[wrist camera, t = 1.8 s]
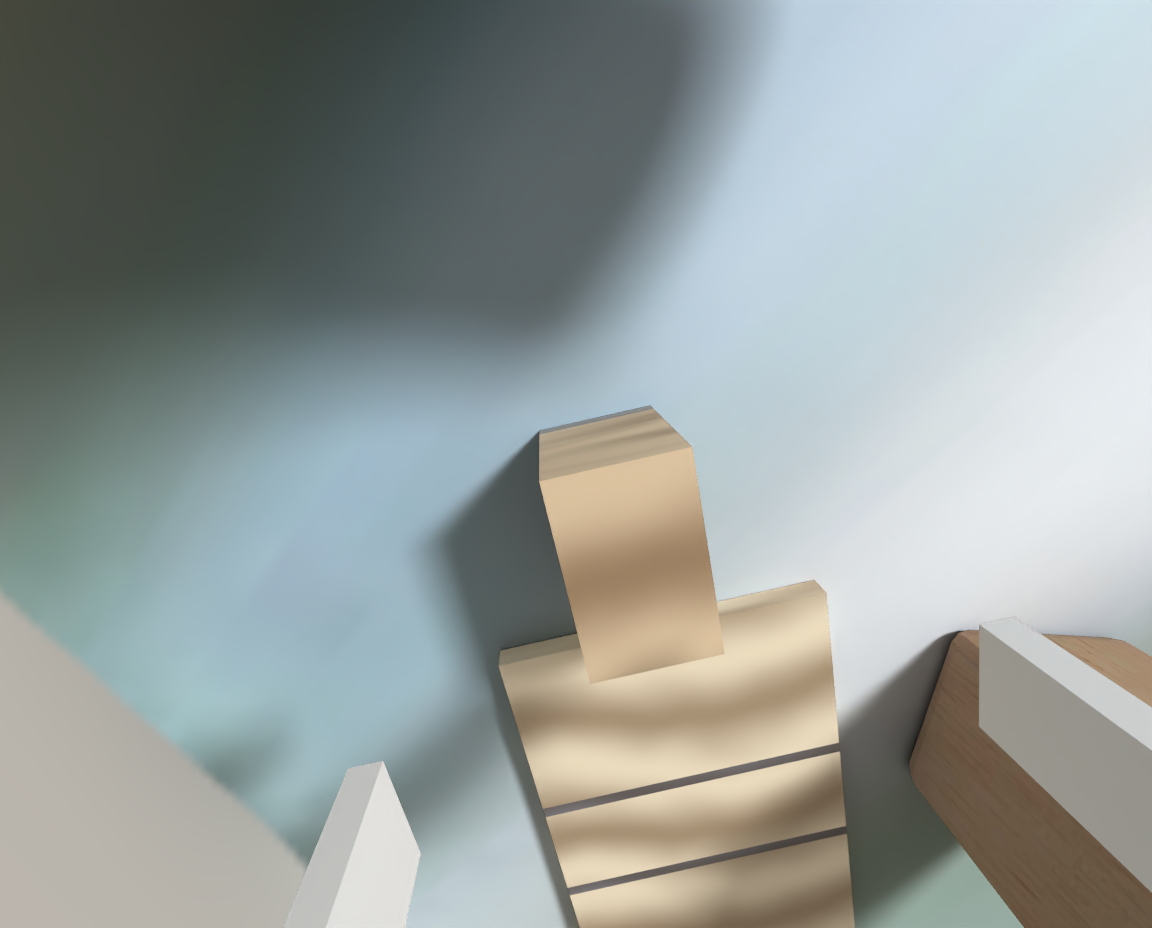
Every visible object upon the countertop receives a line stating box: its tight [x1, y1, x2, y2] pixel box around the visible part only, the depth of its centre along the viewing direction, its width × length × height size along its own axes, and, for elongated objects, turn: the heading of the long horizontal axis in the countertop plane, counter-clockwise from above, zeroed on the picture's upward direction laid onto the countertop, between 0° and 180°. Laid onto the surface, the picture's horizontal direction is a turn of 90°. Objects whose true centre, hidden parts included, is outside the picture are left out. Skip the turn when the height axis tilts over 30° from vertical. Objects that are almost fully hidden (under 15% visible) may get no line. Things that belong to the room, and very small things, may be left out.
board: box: [499, 580, 855, 928], centre depth 30 cm, size 25×16×1 cm, turn 12°
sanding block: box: [539, 405, 725, 684], centre depth 22 cm, size 8×5×7 cm, turn 13°
